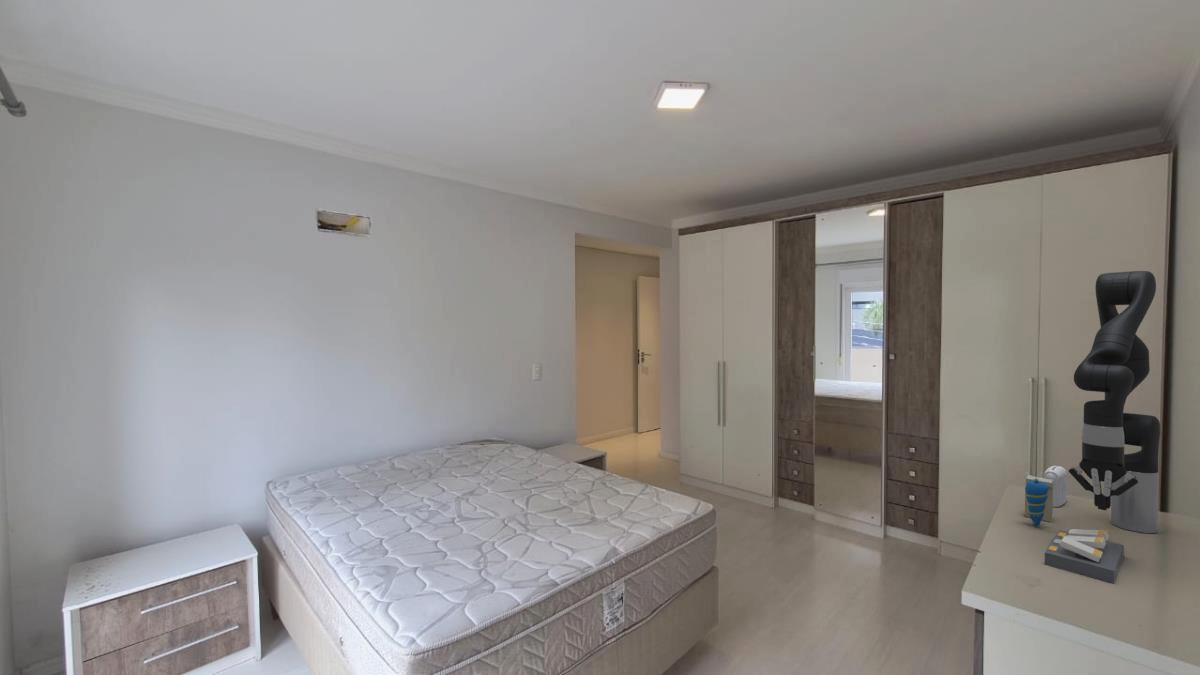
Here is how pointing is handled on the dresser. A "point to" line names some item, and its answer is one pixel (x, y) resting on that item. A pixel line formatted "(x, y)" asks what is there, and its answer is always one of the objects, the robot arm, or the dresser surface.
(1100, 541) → the rocker middle
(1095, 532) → the rocker inner
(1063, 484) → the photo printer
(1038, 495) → the ornament
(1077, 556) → the switch unit
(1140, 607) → the dresser surface
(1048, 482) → the skincare box
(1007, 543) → the dresser surface
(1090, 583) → the dresser surface
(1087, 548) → the rocker outer
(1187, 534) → the dresser surface
